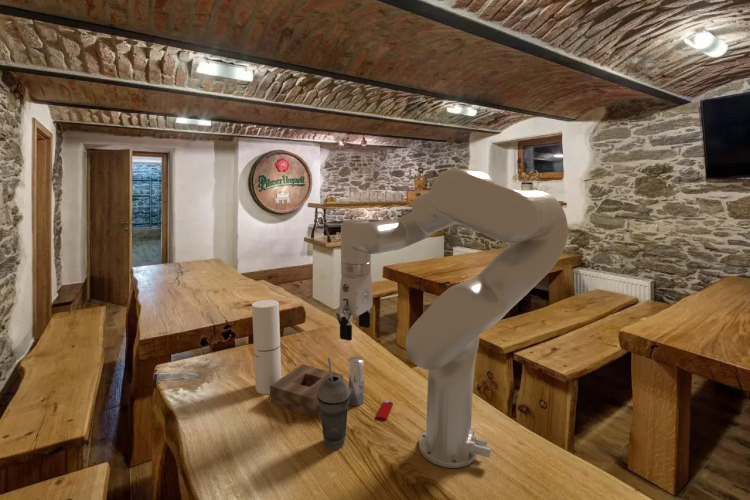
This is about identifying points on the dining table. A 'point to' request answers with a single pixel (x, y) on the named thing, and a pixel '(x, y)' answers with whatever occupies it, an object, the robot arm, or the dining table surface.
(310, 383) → the walnut socket block
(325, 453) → the dining table surface
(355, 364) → the steel peg
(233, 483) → the dining table surface
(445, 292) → the robot arm
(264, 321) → the cylindrical container
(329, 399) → the beverage cup
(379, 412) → the lighter
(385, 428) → the dining table surface
